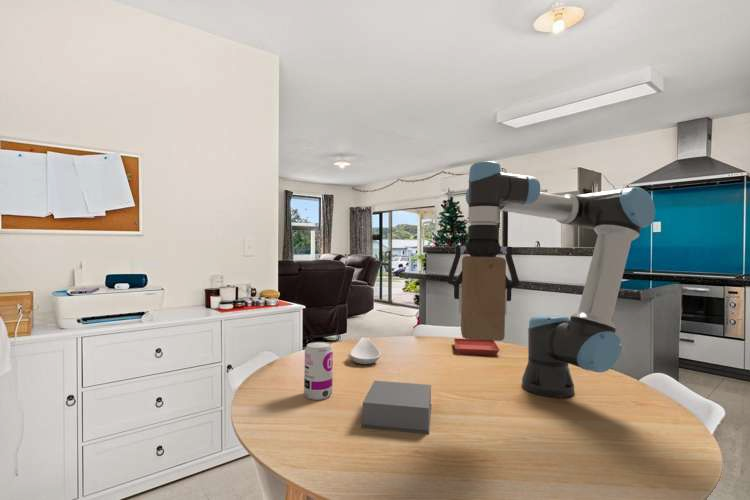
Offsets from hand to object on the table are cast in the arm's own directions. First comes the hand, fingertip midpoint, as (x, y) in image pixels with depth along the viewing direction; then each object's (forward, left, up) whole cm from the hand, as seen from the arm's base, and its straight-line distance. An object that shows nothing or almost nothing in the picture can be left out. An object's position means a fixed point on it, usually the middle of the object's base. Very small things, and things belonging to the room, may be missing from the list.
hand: (481, 313), depth 97 cm
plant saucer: (-4, -73, -29) cm, 79 cm away
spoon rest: (+40, -50, -28) cm, 70 cm away
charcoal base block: (+21, 0, -28) cm, 35 cm away
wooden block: (0, 0, -6) cm, 6 cm away
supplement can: (+46, -9, -28) cm, 54 cm away
